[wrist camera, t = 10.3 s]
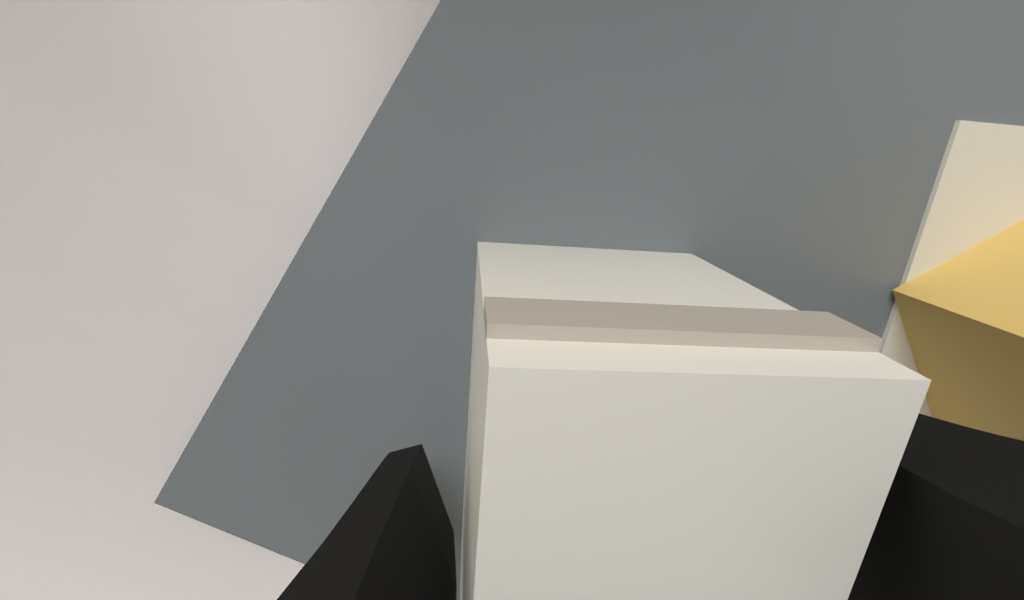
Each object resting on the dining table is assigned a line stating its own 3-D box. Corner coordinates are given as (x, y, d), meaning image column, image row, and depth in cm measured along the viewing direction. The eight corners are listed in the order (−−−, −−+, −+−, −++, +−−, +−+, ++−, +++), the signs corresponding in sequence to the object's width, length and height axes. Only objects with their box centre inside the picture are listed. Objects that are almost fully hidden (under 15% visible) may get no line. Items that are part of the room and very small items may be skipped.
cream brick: (692, 245, 9) (935, 364, 4) (633, 554, 11) (750, 850, 7) (478, 233, 9) (490, 349, 4) (460, 555, 11) (455, 873, 6)
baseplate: (1122, -1181, 5) (1189, -1317, 5) (1622, 57, 10) (1679, 53, 10) (166, 489, 10) (151, 505, 10) (809, 756, 15) (819, 777, 15)
